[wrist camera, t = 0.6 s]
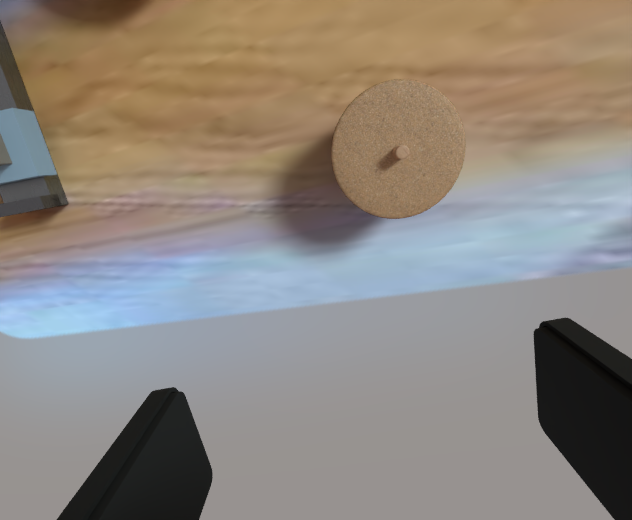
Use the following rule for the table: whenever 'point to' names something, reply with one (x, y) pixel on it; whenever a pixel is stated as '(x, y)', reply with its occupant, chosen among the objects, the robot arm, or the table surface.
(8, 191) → the rail
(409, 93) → the lidded jar
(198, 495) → the robot arm
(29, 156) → the carriage
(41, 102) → the table surface
